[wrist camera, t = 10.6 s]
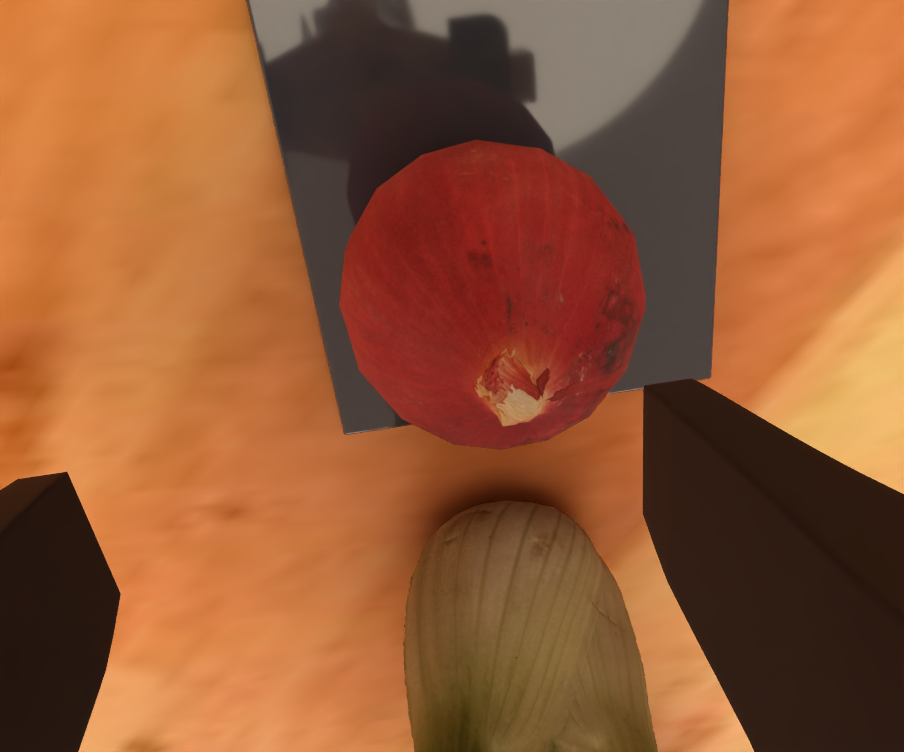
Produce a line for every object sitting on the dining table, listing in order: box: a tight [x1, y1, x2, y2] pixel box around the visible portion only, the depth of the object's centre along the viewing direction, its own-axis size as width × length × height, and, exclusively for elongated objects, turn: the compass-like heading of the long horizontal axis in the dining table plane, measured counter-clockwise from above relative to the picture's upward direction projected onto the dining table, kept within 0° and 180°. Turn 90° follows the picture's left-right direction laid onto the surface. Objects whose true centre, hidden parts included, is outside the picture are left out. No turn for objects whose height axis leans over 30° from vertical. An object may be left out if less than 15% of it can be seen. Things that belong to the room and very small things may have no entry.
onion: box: [339, 140, 646, 450], centre depth 15 cm, size 6×6×8 cm
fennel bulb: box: [403, 500, 658, 752], centre depth 19 cm, size 6×5×12 cm
